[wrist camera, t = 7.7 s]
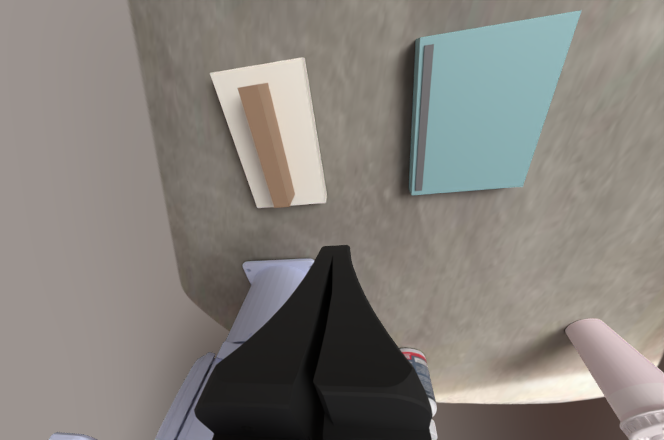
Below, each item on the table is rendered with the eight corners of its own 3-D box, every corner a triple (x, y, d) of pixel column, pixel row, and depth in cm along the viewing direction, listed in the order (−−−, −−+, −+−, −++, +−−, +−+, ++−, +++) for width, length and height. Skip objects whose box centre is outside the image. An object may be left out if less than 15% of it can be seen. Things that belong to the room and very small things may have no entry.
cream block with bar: (327, 196, 20) (323, 215, 18) (262, 201, 21) (248, 221, 19) (304, 58, 15) (294, 56, 12) (218, 72, 16) (191, 73, 13)
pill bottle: (408, 342, 32) (425, 425, 25) (432, 357, 34) (454, 440, 26) (379, 355, 34) (386, 434, 27) (402, 369, 36) (415, 447, 29)
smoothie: (544, 342, 30) (666, 522, 18) (564, 311, 26) (731, 508, 15) (602, 343, 29) (770, 532, 17) (631, 310, 25) (866, 519, 14)
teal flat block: (513, 179, 18) (523, 187, 17) (408, 188, 20) (411, 195, 19) (564, 14, 13) (583, 10, 12) (415, 39, 14) (420, 37, 13)
